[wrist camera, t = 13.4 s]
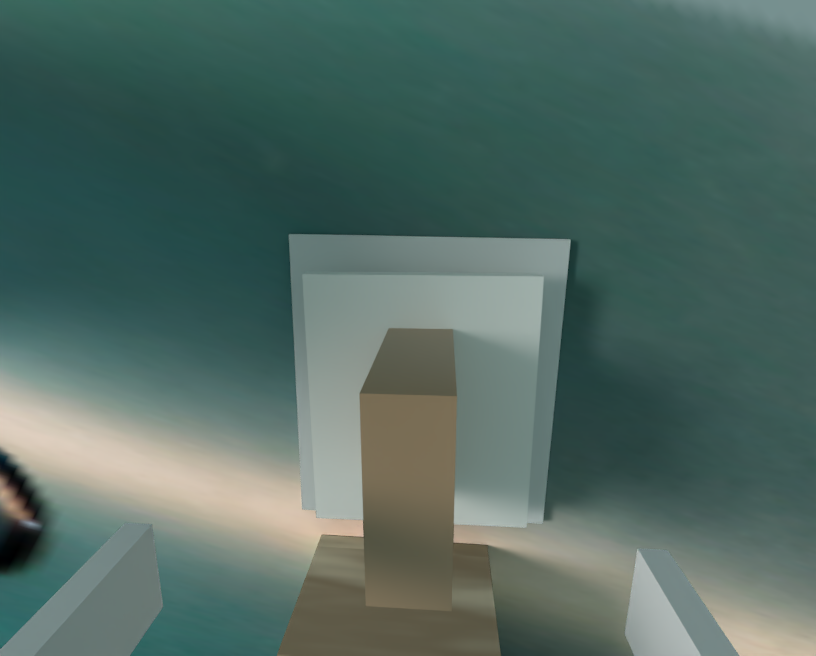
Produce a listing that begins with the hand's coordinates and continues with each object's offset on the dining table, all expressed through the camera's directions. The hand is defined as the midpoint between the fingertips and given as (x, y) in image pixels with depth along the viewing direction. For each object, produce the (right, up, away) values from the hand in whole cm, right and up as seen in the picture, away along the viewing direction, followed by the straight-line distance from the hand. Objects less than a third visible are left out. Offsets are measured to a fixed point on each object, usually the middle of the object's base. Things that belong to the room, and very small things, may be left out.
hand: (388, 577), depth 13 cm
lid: (+1, +3, +13) cm, 13 cm away
